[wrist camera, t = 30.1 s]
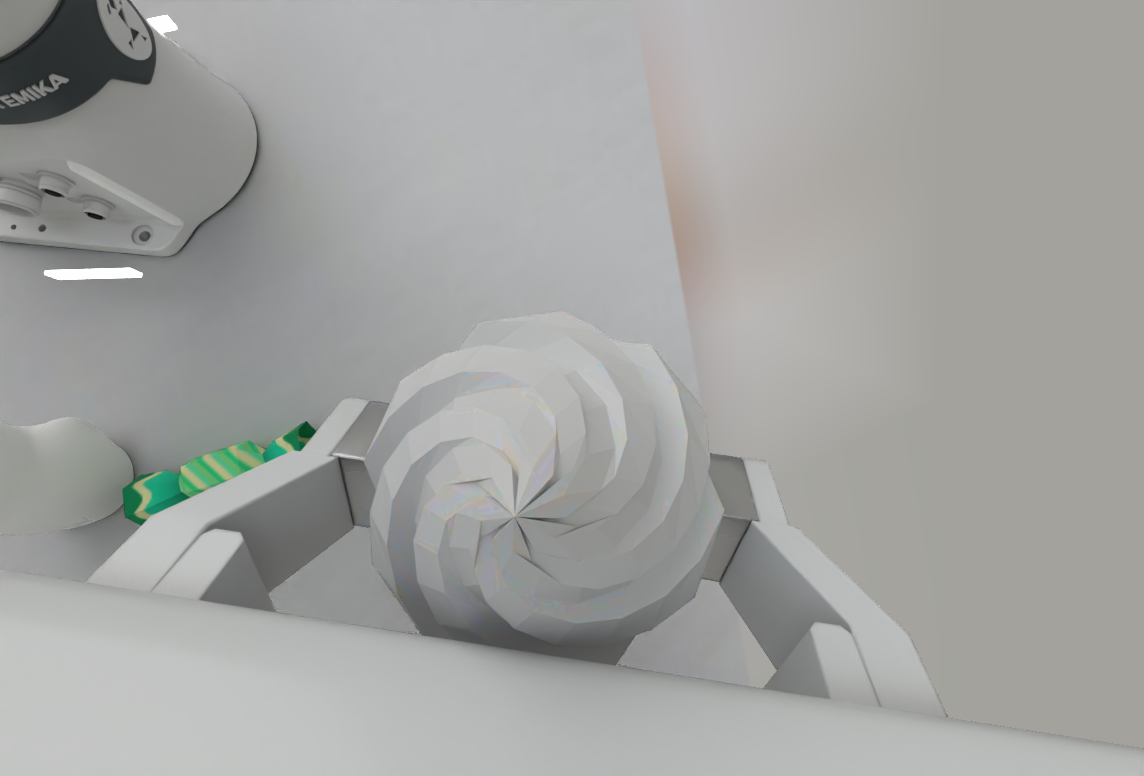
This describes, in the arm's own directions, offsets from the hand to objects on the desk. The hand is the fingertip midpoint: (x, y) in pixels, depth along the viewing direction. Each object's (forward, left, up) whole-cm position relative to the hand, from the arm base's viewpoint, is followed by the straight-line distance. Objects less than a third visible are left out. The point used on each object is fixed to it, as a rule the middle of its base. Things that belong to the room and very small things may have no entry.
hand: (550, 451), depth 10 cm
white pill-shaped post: (-35, +2, -28) cm, 44 cm away
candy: (-24, +1, -28) cm, 36 cm away
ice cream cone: (0, -1, -8) cm, 8 cm away
